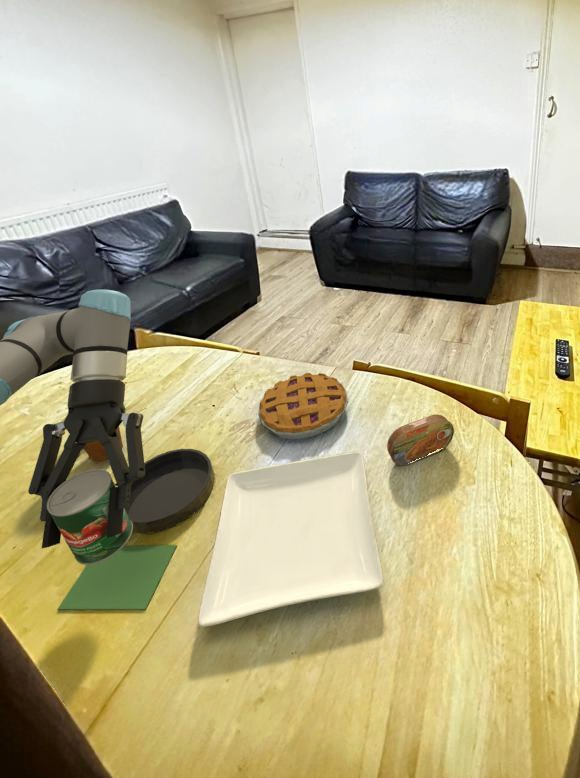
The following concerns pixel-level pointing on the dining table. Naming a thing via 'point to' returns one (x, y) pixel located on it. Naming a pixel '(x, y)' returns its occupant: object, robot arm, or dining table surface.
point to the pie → (303, 406)
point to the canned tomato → (87, 516)
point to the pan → (170, 490)
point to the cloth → (120, 580)
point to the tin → (419, 439)
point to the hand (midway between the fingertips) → (82, 540)
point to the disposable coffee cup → (99, 450)
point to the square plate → (291, 538)
